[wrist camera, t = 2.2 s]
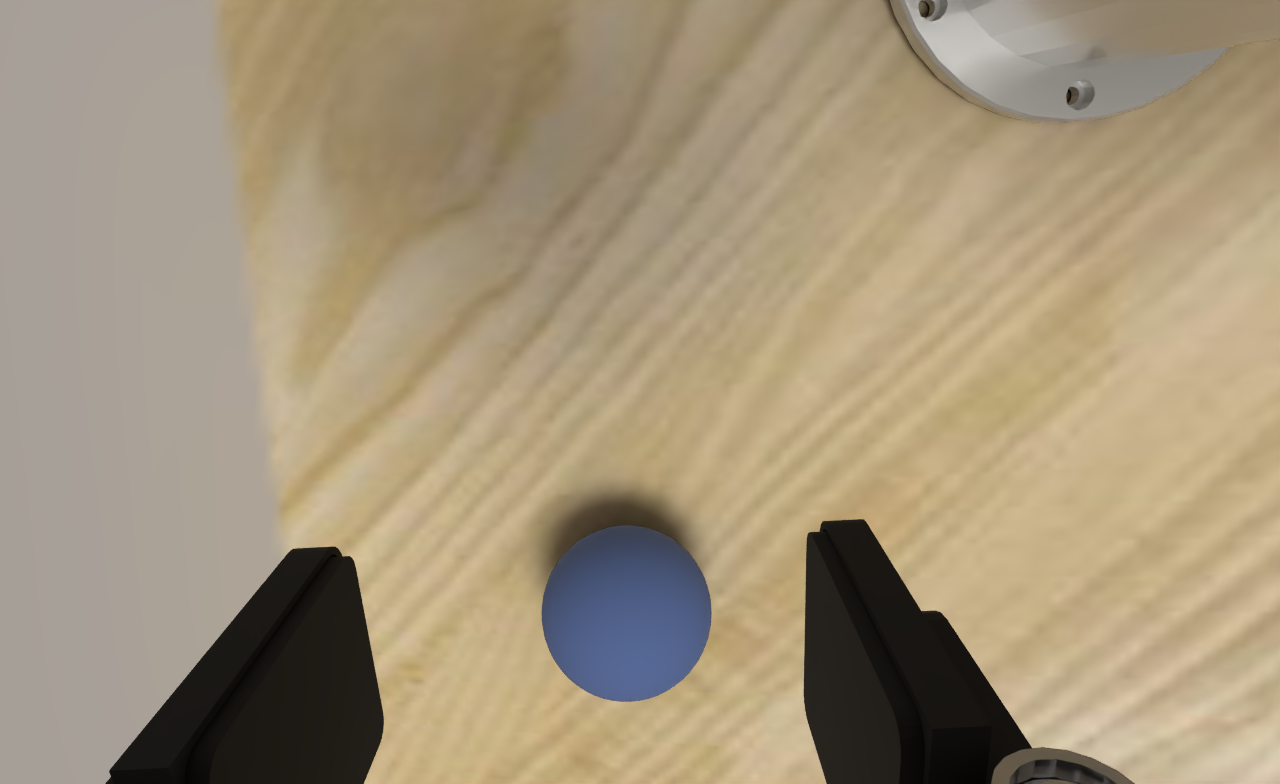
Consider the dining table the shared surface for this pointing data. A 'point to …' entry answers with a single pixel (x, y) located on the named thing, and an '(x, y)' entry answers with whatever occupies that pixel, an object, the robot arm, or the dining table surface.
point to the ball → (626, 613)
